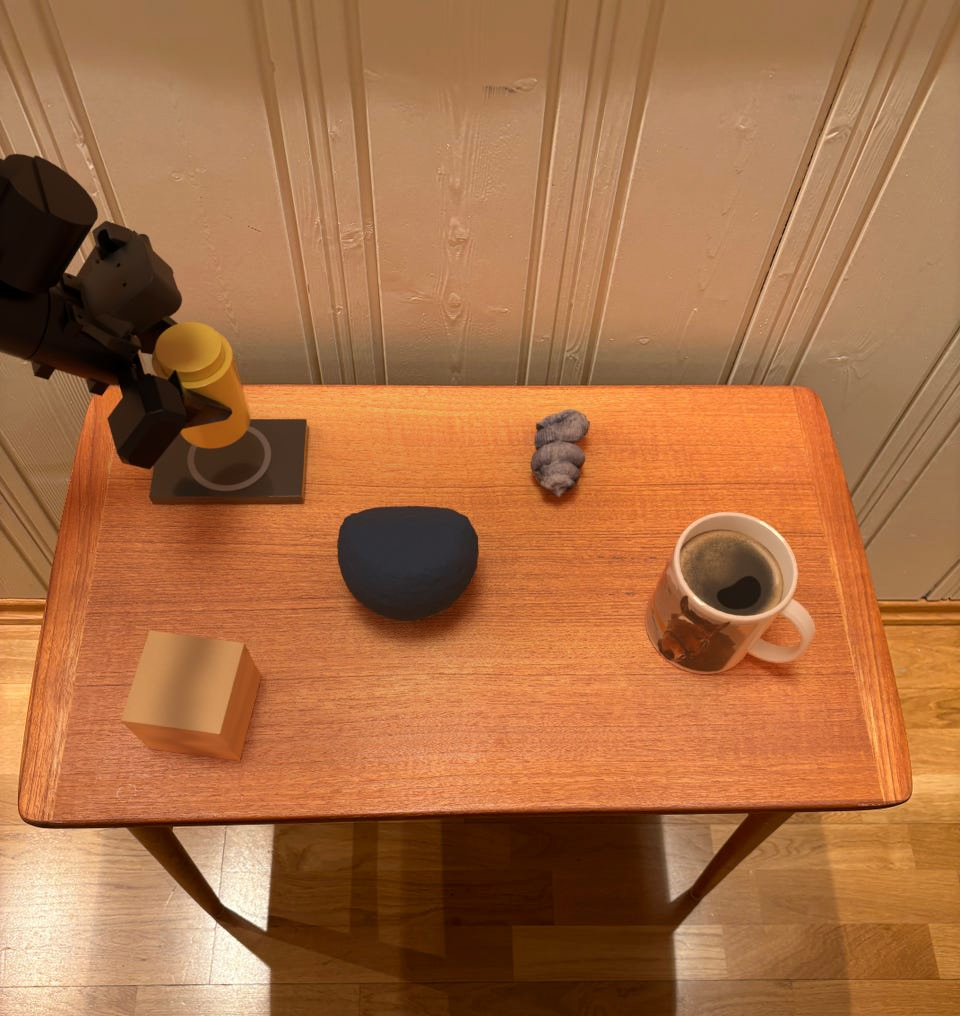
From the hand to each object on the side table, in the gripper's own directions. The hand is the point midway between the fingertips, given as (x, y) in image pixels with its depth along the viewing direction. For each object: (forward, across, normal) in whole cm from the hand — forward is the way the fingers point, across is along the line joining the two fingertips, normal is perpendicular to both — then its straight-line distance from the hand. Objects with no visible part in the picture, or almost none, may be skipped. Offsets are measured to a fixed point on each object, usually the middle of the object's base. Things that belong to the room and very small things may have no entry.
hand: (219, 385), depth 74 cm
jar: (+2, 0, +4) cm, 4 cm away
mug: (+31, -32, -16) cm, 48 cm away
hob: (+7, 0, +8) cm, 11 cm away
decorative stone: (+15, -18, 0) cm, 24 cm away
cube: (+1, -24, +14) cm, 28 cm away
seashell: (+28, -11, -12) cm, 32 cm away
